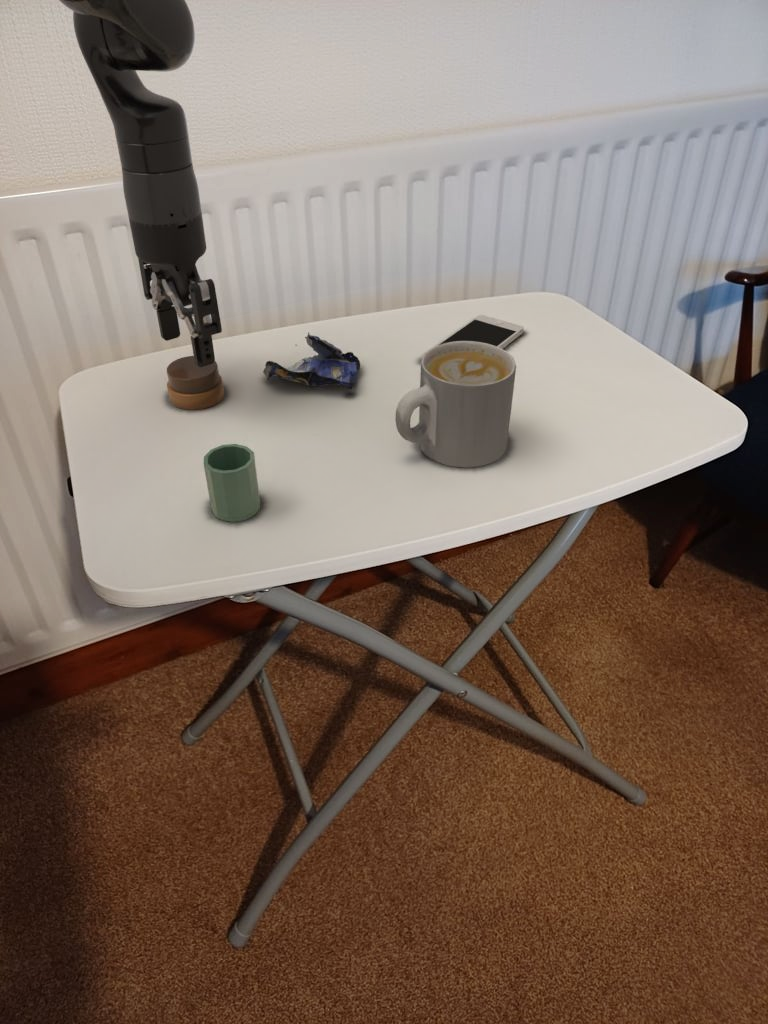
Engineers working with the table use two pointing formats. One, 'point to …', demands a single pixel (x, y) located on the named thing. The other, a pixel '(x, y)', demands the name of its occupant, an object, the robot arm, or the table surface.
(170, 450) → the table surface
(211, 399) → the oak chip
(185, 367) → the walnut chip
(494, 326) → the smartphone
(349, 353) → the snack package
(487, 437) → the coffee mug
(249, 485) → the plastic cup
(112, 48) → the robot arm
